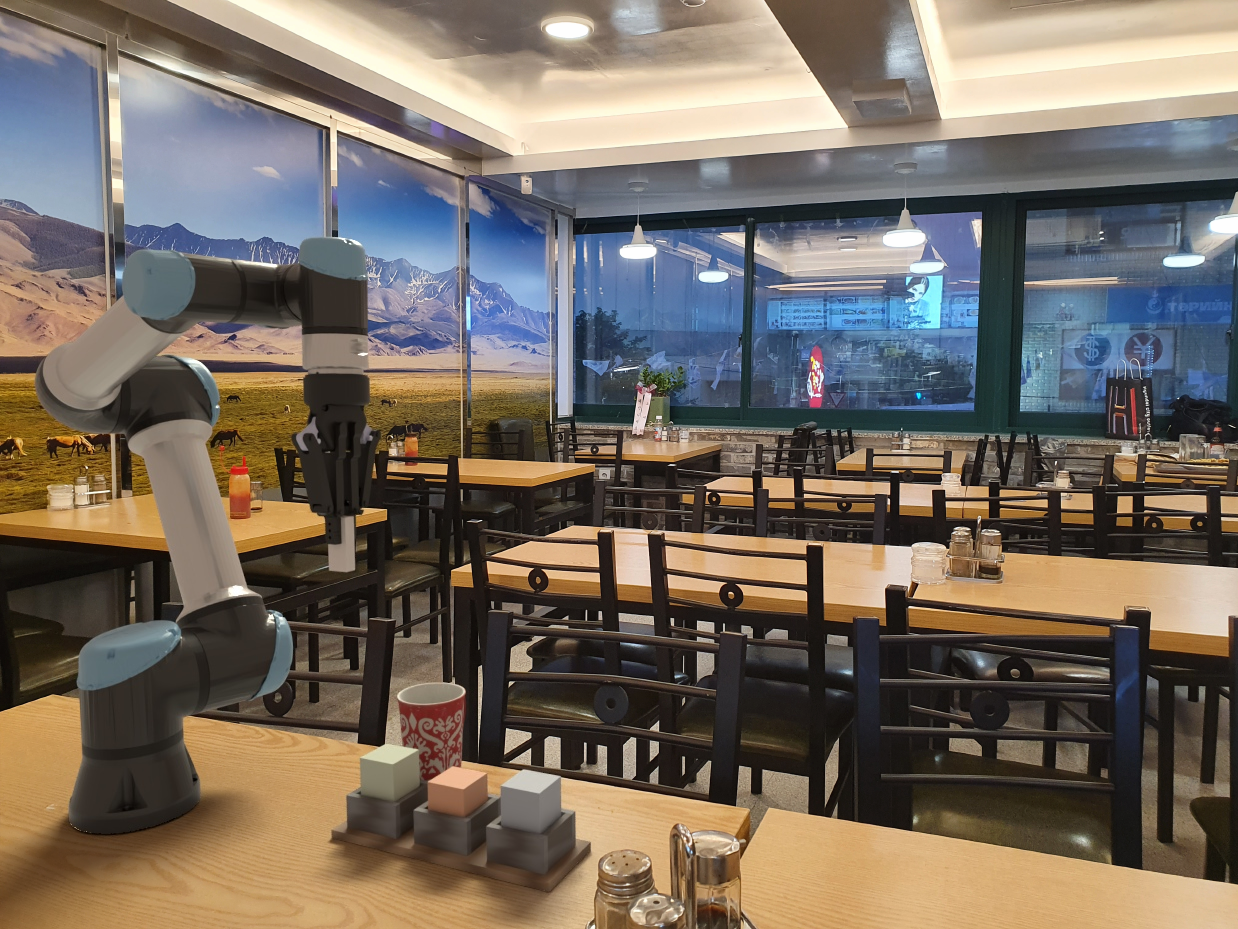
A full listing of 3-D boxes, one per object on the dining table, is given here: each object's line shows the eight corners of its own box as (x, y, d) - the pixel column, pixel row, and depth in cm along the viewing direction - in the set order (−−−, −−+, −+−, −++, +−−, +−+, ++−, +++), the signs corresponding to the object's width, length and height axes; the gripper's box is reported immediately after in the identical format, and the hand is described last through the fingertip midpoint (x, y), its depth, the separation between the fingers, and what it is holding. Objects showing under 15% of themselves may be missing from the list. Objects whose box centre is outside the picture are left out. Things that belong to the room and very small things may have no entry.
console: (331, 837, 110) (330, 797, 109) (385, 804, 119) (384, 767, 118) (549, 892, 97) (548, 847, 97) (590, 850, 106) (590, 808, 106)
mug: (444, 809, 117) (442, 707, 116) (385, 798, 120) (383, 699, 119) (492, 771, 129) (490, 678, 128) (437, 763, 132) (435, 672, 131)
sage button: (361, 805, 111) (359, 757, 110) (387, 789, 115) (386, 743, 115) (394, 813, 108) (392, 764, 108) (419, 796, 113) (418, 749, 113)
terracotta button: (428, 831, 106) (427, 782, 106) (453, 814, 111) (452, 766, 111) (464, 840, 104) (463, 789, 104) (488, 821, 109) (487, 773, 108)
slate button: (501, 837, 102) (500, 785, 102) (524, 819, 107) (523, 769, 106) (540, 846, 100) (539, 793, 100) (561, 827, 105) (560, 776, 104)
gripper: (321, 370, 100) (327, 582, 101) (397, 373, 111) (401, 563, 113) (270, 371, 103) (277, 577, 104) (349, 374, 115) (354, 559, 116)
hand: (342, 570), depth 109 cm, fingers closed
